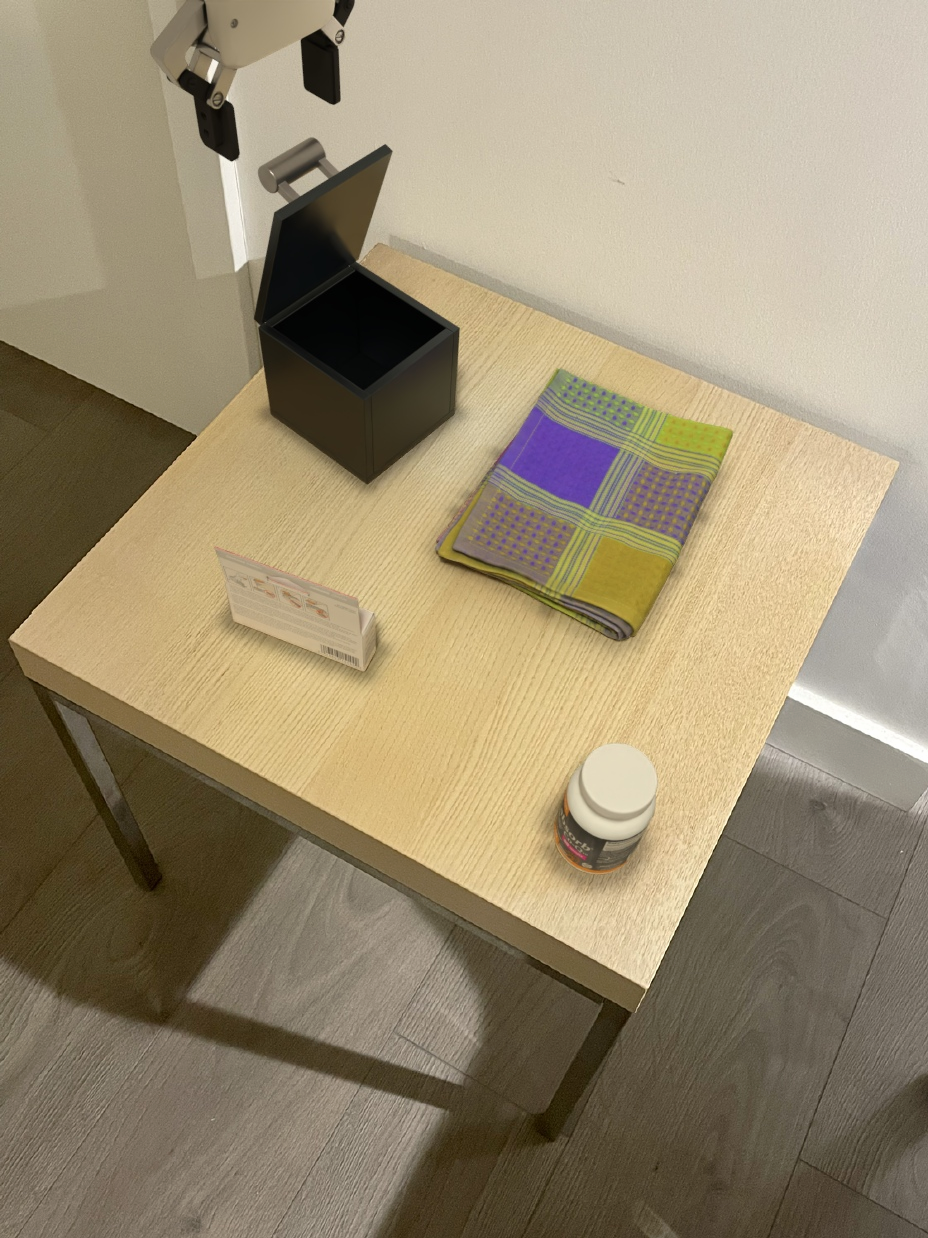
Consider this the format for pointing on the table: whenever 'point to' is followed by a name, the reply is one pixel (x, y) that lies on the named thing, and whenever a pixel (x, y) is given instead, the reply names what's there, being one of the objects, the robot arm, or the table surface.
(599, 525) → the dish towel
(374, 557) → the table surface
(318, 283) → the black box lid
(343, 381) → the black open box
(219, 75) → the robot arm
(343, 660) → the ink cartridge box
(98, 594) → the table surface
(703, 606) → the table surface
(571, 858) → the pill bottle
